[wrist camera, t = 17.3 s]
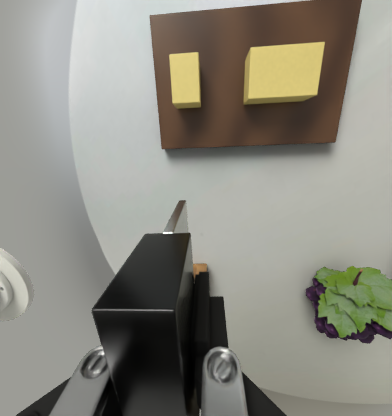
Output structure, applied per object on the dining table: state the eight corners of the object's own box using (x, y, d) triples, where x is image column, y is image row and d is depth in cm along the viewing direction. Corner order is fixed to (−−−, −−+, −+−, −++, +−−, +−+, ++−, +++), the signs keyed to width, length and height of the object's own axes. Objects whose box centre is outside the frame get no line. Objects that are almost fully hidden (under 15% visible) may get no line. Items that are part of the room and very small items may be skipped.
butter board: (164, 148, 26) (161, 149, 25) (153, 23, 22) (149, 15, 21) (328, 142, 25) (335, 142, 23) (352, 5, 20) (363, -5, 19)
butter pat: (176, 108, 23) (172, 103, 20) (174, 65, 22) (168, 54, 19) (201, 107, 23) (199, 102, 20) (199, 63, 22) (198, 51, 19)
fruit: (296, 300, 37) (303, 245, 29) (361, 303, 34) (387, 244, 26) (313, 364, 29) (329, 313, 21) (400, 375, 26) (456, 321, 18)
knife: (178, 304, 16) (144, 493, 7) (168, 200, 13) (89, 310, 4) (202, 304, 16) (196, 497, 7) (197, 199, 13) (175, 310, 4)
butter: (243, 104, 23) (248, 98, 20) (245, 60, 21) (250, 47, 18) (303, 101, 22) (317, 94, 19) (309, 55, 21) (325, 41, 18)
